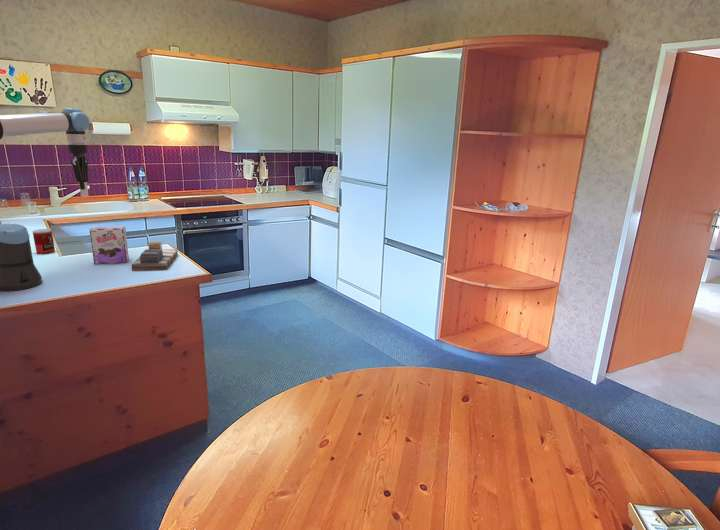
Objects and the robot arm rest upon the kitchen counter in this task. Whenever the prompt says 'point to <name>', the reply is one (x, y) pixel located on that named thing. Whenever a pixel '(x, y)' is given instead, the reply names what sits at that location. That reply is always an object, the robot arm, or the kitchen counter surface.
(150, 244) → the bolt
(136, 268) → the door mockup
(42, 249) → the canned food
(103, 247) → the candy box
